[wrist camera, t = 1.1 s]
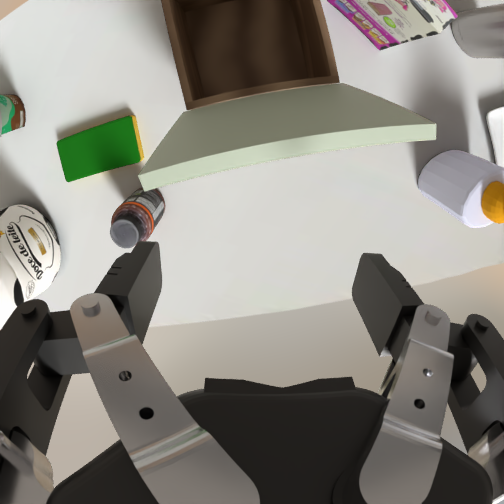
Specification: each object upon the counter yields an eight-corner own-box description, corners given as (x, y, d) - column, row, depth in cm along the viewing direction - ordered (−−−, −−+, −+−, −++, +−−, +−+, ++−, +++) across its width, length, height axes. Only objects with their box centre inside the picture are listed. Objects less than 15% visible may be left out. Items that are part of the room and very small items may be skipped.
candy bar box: (397, 34, 32) (461, 17, 18) (379, 51, 34) (440, 36, 19) (345, -16, 28) (390, -58, 14) (324, -1, 30) (364, -43, 16)
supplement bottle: (147, 228, 47) (124, 264, 37) (123, 201, 44) (93, 230, 34) (174, 207, 45) (154, 239, 35) (149, 178, 43) (123, 202, 33)
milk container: (76, 223, 46) (19, 279, 30) (60, 291, 53) (18, 350, 37) (10, 184, 41) (-54, 223, 25) (2, 253, 48) (-46, 300, 32)
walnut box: (290, -10, 30) (306, -43, 19) (314, 87, 37) (339, 82, 26) (179, 11, 31) (157, -17, 20) (202, 108, 38) (186, 110, 28)
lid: (436, 123, 13) (436, 139, 14) (343, 83, 26) (344, 92, 27) (138, 175, 15) (144, 191, 15) (183, 112, 28) (186, 120, 28)
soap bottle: (421, 207, 46) (493, 267, 28) (410, 165, 42) (492, 211, 24) (473, 181, 43) (548, 226, 25) (465, 140, 40) (549, 173, 22)
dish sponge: (63, 139, 39) (55, 141, 37) (136, 114, 38) (130, 115, 36) (73, 178, 42) (66, 183, 40) (145, 158, 42) (140, 162, 40)
